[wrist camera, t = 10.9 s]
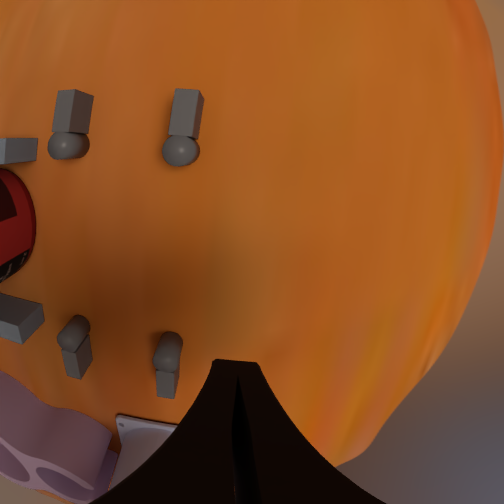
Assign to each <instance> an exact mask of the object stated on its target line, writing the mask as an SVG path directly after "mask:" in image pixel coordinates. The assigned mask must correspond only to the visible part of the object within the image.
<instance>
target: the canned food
mask: <svg viewBox="0 0 504 504" xmlns="http://www.w3.org/2000/svg"><path fill="white" fill-rule="evenodd" d="M35 234H36V220H35V212H34V207H33V203H32V200H31V197H30V195H29V192H28V190H27V188H26V187H25V185H24V183H23V182H22V181H21V180H20V178H19V177H17V176H16V175H15V174H14V173H11V172H9V171H7V170H4V169H2V168H0V283H1V282H2V281H4V280H5V279H7V278H8V277H10V276H11V275H13V274H14V273H16V272H17V271H19V270H20V268H21V267H22V266H23V265H24V263H25V262H26V260H27V259H28V257H29V255H30V253H31V251H32V248H33V245H34V241H35Z"/></svg>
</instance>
